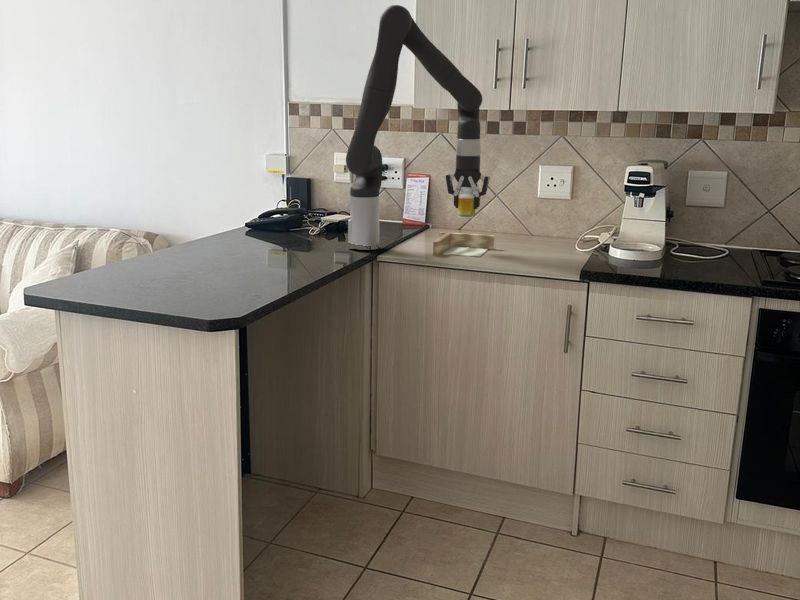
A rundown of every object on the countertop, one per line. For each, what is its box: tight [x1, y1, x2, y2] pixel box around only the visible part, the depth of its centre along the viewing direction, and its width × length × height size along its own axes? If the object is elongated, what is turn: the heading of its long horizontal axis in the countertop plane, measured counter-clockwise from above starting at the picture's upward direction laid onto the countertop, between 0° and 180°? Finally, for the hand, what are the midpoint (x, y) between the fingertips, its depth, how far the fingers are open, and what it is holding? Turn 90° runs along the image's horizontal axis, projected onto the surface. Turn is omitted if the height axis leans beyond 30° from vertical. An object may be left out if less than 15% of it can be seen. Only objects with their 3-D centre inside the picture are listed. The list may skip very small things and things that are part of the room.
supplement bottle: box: [457, 186, 476, 220], centre depth 249 cm, size 5×5×10 cm
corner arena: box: [432, 231, 495, 258], centre depth 253 cm, size 18×17×4 cm
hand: (466, 208), depth 249 cm, fingers closed on supplement bottle, 5 cm apart
